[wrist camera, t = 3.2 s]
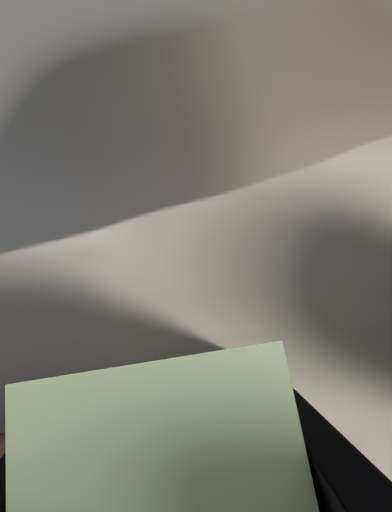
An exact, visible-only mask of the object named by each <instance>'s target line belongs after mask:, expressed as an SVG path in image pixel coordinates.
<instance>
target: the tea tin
mask: <svg viewBox="0 0 392 512" xmlns="http://www.w3.org/2000/svg"><path fill="white" fill-rule="evenodd" d="M5 451H6V512H319V508H318V504H317V499H316V494H315V490H314V485H313V480H312V476H311V471H310V466H309V462H308V457H307V453H306V448H305V443H304V439H303V434H302V429H301V425H300V420H299V415H298V411H297V406H296V402H295V397H294V392H293V388H292V383H291V378H290V374H289V369H288V364H287V360H286V355H285V350H284V346H283V341H282V340H281V341H275V342H268V343H262V344H256V345H250V346H243V347H237V348H231V349H225V350H218V351H212V352H206V353H200V354H193V355H187V356H181V357H175V358H168V359H162V360H156V361H149V362H143V363H137V364H131V365H124V366H118V367H112V368H106V369H99V370H93V371H87V372H81V373H74V374H68V375H62V376H56V377H49V378H43V379H37V380H31V381H24V382H18V383H12V384H6V385H5Z"/></svg>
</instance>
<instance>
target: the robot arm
mask: <svg viewBox="0 0 392 512" xmlns="http://www.w3.org/2000/svg"><path fill="white" fill-rule="evenodd" d="M293 392H294V397H295V402H296V406H297V411H298V415H299V420H300V425H301V429H302V434H303V439H304V443H305V448H306V453H307V457H308V462H309V466H310V471H311V476H312V480H313V485H314V490H315V494H316V499H317V504H318V508H319V512H392V482H391V481H390V480H389V479H388V478H387V477H386V476H385V475H384V474H383V473H382V472H381V471H380V470H379V469H378V468H377V467H376V466H375V465H374V464H372V463H371V462H370V461H369V460H368V459H367V458H366V457H365V456H364V455H363V454H362V453H361V452H360V451H359V450H358V449H357V448H356V447H355V446H354V445H352V444H351V443H350V442H349V441H348V440H347V439H346V438H345V437H344V436H343V435H342V434H341V433H340V432H339V431H338V430H337V429H336V428H335V427H334V426H333V425H331V424H330V423H329V422H328V421H327V420H326V419H325V418H324V417H323V416H322V415H321V414H320V413H319V412H318V411H317V410H316V409H315V408H314V407H313V406H311V405H310V404H309V403H308V402H307V401H306V400H305V399H304V398H303V397H302V396H301V395H300V394H299V393H298V392H297V391H296V390H295V389H293ZM0 512H6V451H5V453H4V454H3V455H2V456H1V458H0Z"/></svg>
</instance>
